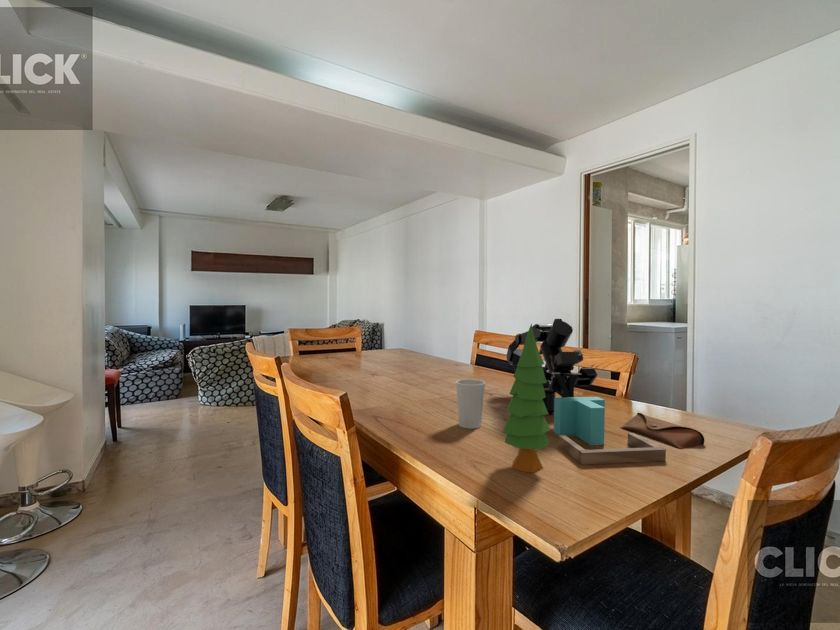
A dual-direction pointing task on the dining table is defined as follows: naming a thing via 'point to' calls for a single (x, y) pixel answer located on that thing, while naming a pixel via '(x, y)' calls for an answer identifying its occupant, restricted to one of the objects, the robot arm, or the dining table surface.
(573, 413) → the t block
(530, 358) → the decorative tree
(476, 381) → the cup
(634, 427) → the sunglasses case
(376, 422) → the dining table surface
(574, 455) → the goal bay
